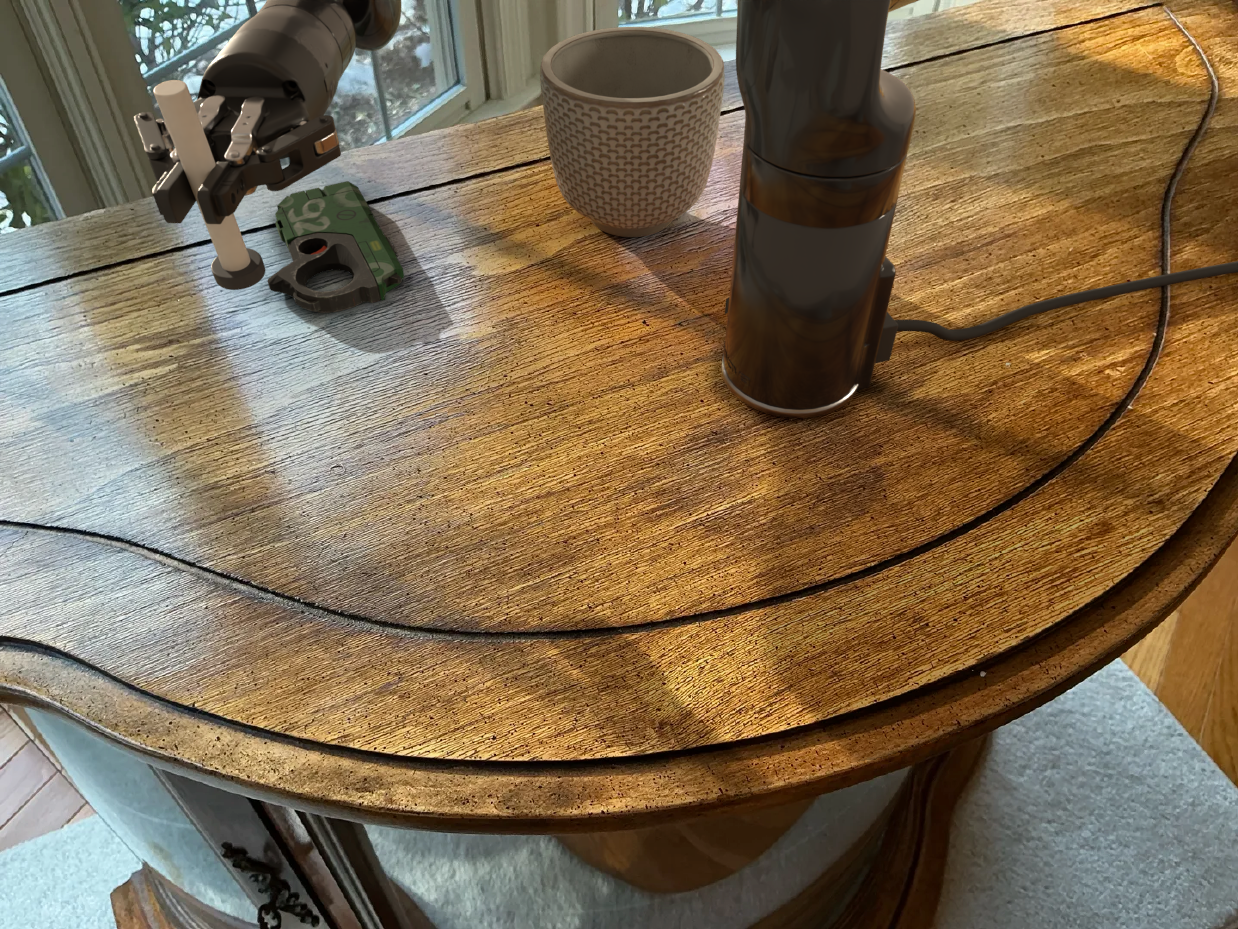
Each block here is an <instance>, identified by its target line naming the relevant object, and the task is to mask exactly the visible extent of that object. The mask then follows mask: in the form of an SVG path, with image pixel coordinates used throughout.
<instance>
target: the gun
mask: <svg viewBox="0 0 1238 929" xmlns="http://www.w3.org/2000/svg"><path fill="white" fill-rule="evenodd" d="M276 207H277V210H276V212H275V214H274V215H275V219H276V220H275V227H276V230H277V233H278V235H279V236H278V237H279V238H280V240H281V241H282V242H283V243H285V245H286V247H287V249H288V251H289V254H290V256H291V259H292V262H290V263H287V265H284V266H283V267H282V268H280V269H279V270H278V271H276V272H275V273H274V274H272V275H271V276H269V278H267V284H268V288H269V291H272V292H273V293H274V292H275V293H280V294H284V295H287V296H289V297H291V298H293V300H294V303H295V304H296V305H297V306H299V307H301V308H302V309H304V310H307V311H310V312H317V313H335V312H341V311H345V310H349V309H352V308H355V307H357V306H358V305H360V304H363V303H365V302H368V303H371V304H373V303H377V302H381V301H385V300H386V295H387V292H390V291H391V290H393V289H394V288H396V287H398V286H400V285H401V283H402V282H403V279H404V277H405V272H404V268H403V266H402V264H401V262H400V260H399V259H398V257H399V255H398V250H397V248H396V247H395V244H394V243H393V241H392V239H391V237H390V236H386V235H385V233H384V232H383V230H382V229H381V227H380V226H379V224H378V222H377V220H376V219H375V216H374V214H373V212H372V209H371V208H370V206H369V205H368V203H367V201H366V199H365V197H364V196H363V193H362V192H361V189H359V187H358V185H355V184H353V183H352V182H350V181H348V180H347V181H341V182H337V183H332V184H329V185H325V186H323V189H322V188H320V187H314V188H311V189H307V190H306V189H305V190H301V191H297V192H293V193H291V194H290V195H286V196H285V197H284V198H283V199H282V200H281V201H280V202H279V203H278V204H277V205H276ZM330 271H342V272H346V273H348V274H350V275H352V276H353V277H352V280H351V281H350V282H349V283H348V284H346V285H344V286H343V287H341V288H337V289H333V290H326V291H318V290H315V289H311V288H310V287H308V286H307V284H308V282H309V281H310V280H311V279H312V278H314V277H315V276H317V275H319V274H322V273H325V272H330Z"/></svg>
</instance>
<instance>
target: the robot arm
mask: <svg viewBox="0 0 1238 929" xmlns="http://www.w3.org/2000/svg"><path fill="white" fill-rule="evenodd" d="M918 1H920V0H737V1H736V2H737V6H736V7H737V8H736V37H735V38H736V39H735V40H736V41H735V72H736V80H737V84H738V85H737V86H738V89H739V93H740V97H741V100H742V104H743V108H744V115H745V116H744V117H745V118H744V129H743V143H742V154H741V165H740V176H739V189H738V197H737V211H736V221H735V231H734V241H733V242H734V243H733V251H732V264H731V273H730V284H729V296H728V297H727V298H726V299H725V305H724V315H727V316H726V317H727V318H726V329H725V339H724V341H723V342H724V343H723V354H722V357H721V368H720V369H721V370H720V371H721V378H722V380H723V382H724V384H725V386H726V387H727V389H728V390H729V392H730V393H731V394H732V395H733V396H734V397H735V398H737V399H738V400H739V401H740V402H742V403H743V404H745V405H746V406H748V407H750V408H752V409H754V410H756V411H758V412H762V413H764V414H767V415H770V416H771V415H772V416H776V417H779V418H780V417H781V418H787V419H788V418H789V419H808V418H815V417H821V416H824V415H828V414H831V413H833V412H835V411H837V410H839V409H841V408H842V407H844V406H846V405H847V404H848V403H849V402H850V401H852V399H853V398H854V396H855V395H856V393H857V392H859V391H861V390H866V389H869V388H870V387H871V383H872V379H873V374H874V370H875V365H876V364H880V363H885V362H889V361H890V360H891V357H892V353H893V349H894V344H895V340H896V337H897V333H899V332H901V333H902V332H917V333H925V334H926V333H927V334H931V335H933V336H935V337H937V338H938V339H941V340H943V341H948V342H959V341H966V340H972V339H976V338H979V337H982V336H984V335H988V334H990V333H993V332H995V331H997V330H1000V329H1003V328H1005V327H1007V326H1009V325H1012V324H1013V323H1016V322H1019V321H1021V320H1023V319H1026V318H1030V317H1031V316H1034V315H1038V314H1042V313H1046V312H1049V311H1054V310H1058V309H1061V308H1064V307H1070V306H1074V305H1078V304H1083V303H1088V302H1093V301H1097V300H1103V299H1107V298H1112V297H1116V296H1121V295H1127V294H1131V293H1135V292H1136V293H1137V292H1140V291H1141V292H1142V291H1146V290H1150V289H1155V288H1161V287H1164V286H1170V285H1171V286H1172V285H1174V284H1175V285H1176V284H1181V283H1185V282H1191V281H1197V280H1202V279H1206V278H1212V277H1218V276H1219V277H1220V276H1224V275H1230V274H1235V273H1238V260H1237V261H1231V262H1226V263H1220V264H1214V265H1209V266H1204V267H1198V268H1193V269H1188V270H1187V269H1186V270H1181V271H1177V272H1172V273H1166V274H1161V275H1156V276H1152V277H1146V278H1141V279H1136V280H1131V281H1126V282H1121V283H1117V284H1112V285H1107V286H1103V287H1098V288H1092V289H1087V290H1083V291H1079V292H1073V293H1069V294H1065V295H1059V296H1057V297H1053V298H1052V297H1051V298H1048V299H1044V300H1040V301H1037V302H1034V303H1030V304H1027V305H1024V306H1021V307H1019V308H1016V309H1014V310H1011V311H1009V312H1006V313H1004V314H1002V315H999V316H997V317H995V318H993V319H989V320H988V321H986V322H982V323H979V324H977V325H974V326H969V327H964V328H956V329H955V328H953V329H949V328H947V327H945V326H943V325H942V324H939V323H937V322H934V321H929V320H922V319H895V318H893V316H891V314H890V313H889V312H888V309H889V305H890V300H891V296H892V291H893V287H894V283H895V280H896V279H895V278H896V274H897V270H896V266H895V265H894V263H893V262H892V261H891V260H890V259H889V257H887V256H886V255H887V250H888V246H889V242H890V237H891V231H892V228H893V223H894V218H895V214H896V209H897V205H898V200H899V195H900V189H901V186H902V181H903V175H904V171H905V168H906V164H907V163H906V162H907V159H908V153H909V149H910V147H911V142H912V136H913V132H914V127H915V123H916V116H917V115H916V113H917V105H916V99H915V96H914V94H913V92H912V91H911V89H910V88H909V86H908V85H907V84H906V83H905V82H904V81H903V80H901V79H900V78H899V77H897V76H895V75H894V74H892V73H890V72H888V71H886V70H884V69H882V62H883V53H884V44H885V37H886V31H887V22H888V16H889V14H890V13H891V12H894V11H896V10H899V9H901V8H903V7H906V6H908V5H912V4H914V3H916V2H918ZM401 18H402V0H266V1H265V2H264V4H263V5H262V7H261V8H260V9H259V11H257V13H256V14H255V15H254V16H252V17H251V18H250V19H248V20H247V21H245V23H243V24H242V25H241V26H240V27H239V28H238V29H237V30H236V32H235V33H234V35H233V36H232V37H231V38H230V39H229V41H228V42H227V43H226V44H225V45H224V47H223V48H222V49H221V50H220V51H219V53H218V54H217V55H216V56H215V57H214V59H213V60H212V61H211V62H210V64H208V66H207V67H206V69H205V71H204V73H203V76H202V78H201V81H200V84H199V89H198V94H197V99H196V100H194V101H193V103H194V106H195V109H196V111H197V114H198V117H199V120H200V122H201V125H202V128H203V131H204V133H205V136H206V139H207V142H208V144H209V147H210V150H211V153H212V155H213V158H214V161H215V164H216V165H215V167H214V168H213V169H212V170H211V172H210V173H209V175H208V176H207V178H206V179H205V181H204V182H203V183H202V185H201V186H200V188H199V189H198V193H197V197H198V202H199V205H200V207H201V210H202V213H203V216H204V219H205V222H206V223H207V224H221V223H222V222H223V220H224V218H225V217H226V216H230V215H231V214H232V213H234V214H235V212H236V211H237V209H238V207H239V206H240V204H241V202H242V201H243V199H244V198H245V197H246V196H250V195H252V194H254V193H255V192H256V190H257V189H258V187H261V186H266V189H267V190H268V191H270V192H279V191H282V190H284V189H286V188H289V187H290V186H291V185H293V184H295V183H296V182H299V181H300V180H302V179H303V178H306V177H307V176H309V175H310V174H312V173H314V172H316V171H317V170H319V169H321V168H322V167H325V166H326V165H327V164H329V163H331V162H333V161H335V160H337V158H340V157H341V156H342V151H341V148H340V141H339V137H338V131H337V128H336V124H335V121H334V120H335V119H334V117H333V116H331V115H329V114H328V115H327V114H326V113H327V111H328V109H329V107H330V105H331V103H332V102H333V100H334V98H335V95H336V93H337V91H338V87H339V84H340V83H339V82H340V80H341V79H342V77H343V75H344V73H345V72H346V70H347V68H348V67H349V65H350V63H351V61H352V60H353V57H354V54H355V50H356V49H358V50H361V51H365V52H377V51H379V50H381V49H383V48H385V47H386V46H387V45H388V44H389V43H391V41H392V40H393V39H394V37H395V35H397V32H398V29H399V26H400V23H401ZM133 120H134V123H135V126H136V129H137V131H138V134H139V138H140V140H141V143H142V145H143V148H144V151H145V154H146V157H147V159H148V162H149V165H150V168H151V170H152V172H153V175H154V178H155V181H156V184H155V185H154V186H153V187H152V189H151V191H152V196H153V199H154V202H155V205H156V206H157V208H158V212H159V214H160V216H162V217H163V218H164V221H165V222H166V223H167V224H182V223H183V221H184V220H185V218H186V217H187V215H188V214H189V213H190V211H191V210H192V208H193V207H194V205H195V204H196V203H197V202H196V199H195V196H194V194H193V191H192V189H191V186H190V184H189V181H188V179H187V176H186V174H185V171H184V169H183V166H182V163H181V161H180V158H179V156H178V153H177V151H176V148H175V146H174V143H173V141H172V138H171V135H170V133H169V130H168V128H167V125H166V123H165V120H164V118H157V119H156V117H155V115H154V113H153V112H151V111H142V112H139V113H136V114H135V115H134V116H133ZM284 159H289V164H288V165H287V166H285V167H282V163H281V160H284ZM204 219H203V220H204ZM205 222H204V223H205Z"/></svg>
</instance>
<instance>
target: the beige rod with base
mask: <svg viewBox="0 0 1238 929" xmlns="http://www.w3.org/2000/svg"><path fill="white" fill-rule="evenodd" d="M153 95H154V98H155V100H156V102H157V105H158V107H159V110H160V112H161V115H162V117H163V118H162V119H163V120H164V121H165V123H166V125H167V128H168V130H169V133H170V135H171V138H172V141H173V143H174V146H175V147H174V149H175V148H176V151H177V153H178V156H179V158H180V161H181V163H182V166H183V169H184V171H185V174H186V176H187V179H188V181H189V184H190V186H191V189H192V191H193V194H194V196H195V199H196V202H195V203H196V204H197V208H198V209H199V213H200V214H201V217H202V219H203V222H204V225H205V227H206V229H207V231H208V235H209V237H210V239H211V243H212V245H213V247H214V250H215V252H216V255H217V256H216V257H215V258H214V259H213V260H212V262H211V265H210V270H211V273H212V275H213V276H212V277H213V278H214V280H215V283H216V284H217V285H218V286H219V287H221V288H222V289H225V290H230V291H236V290H237V291H239V290H245V289H248V288H251V287H253V286H255V285H256V284H258V283H259V282H260V281H261V280H262V279H263V278H264V276H265V274H266V265H265V263H264V261H263V257H262V256H261V253H259V252H258V251H257V250H255V249H253V248H249V247H247V246H246V244H245V243H246V242H245V241H244V238H243V235H242V232H241V230H240V227H239V224H238V221H237V219H236V216H235V212H234V213H232V214H231V215H230V216H226V217H225V218H224V220H223V222H222V223H221V224H207V223H206V222H205V219H204V216H203V213H202V210H201V207H200V205H199V202H198V197H197V193H198V189H199V188H200V186H201V185H202V183H203V182H204V181H205V179H206V178H207V176H208V175H209V173H210V172H211V170H212V169H213V168H214V167H215V165H216V164H215V161H214V158H213V155H212V153H211V150H210V147H209V144H208V142H207V139H206V136H205V133H204V131H203V128H202V125H201V122H200V120H199V117H198V114H197V111H196V109H195V106H194V103H193V102H194V100H193V98H192V95H191V92H190V90H189V87H188V84H187V83H186V82H185V81H183V80H178V79H170V80H165V81H163V82H160V83H159V84H156V86H154V88H153Z"/></svg>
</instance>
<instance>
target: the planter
mask: <svg viewBox="0 0 1238 929" xmlns="http://www.w3.org/2000/svg"><path fill="white" fill-rule="evenodd" d="M539 68H540V70H539V82H540V84H539V85H540V93H541V101H542V109H543V116H544V124H545V133H546V139H547V144H548V151H549V157H550V163H551V168H552V172H553V176H554V179H555V180H554V181H555V183H556V186H557V188H558V190H559V192H560V194H561V196H562V197H563V199H564V200H565V202H566V203H567V204H568V205H569V206H570V207H571V208H572V209H573V210H574V211H575V212H576V213H578V214H580V215H581V216H582V217H584V218H586V219H588V220H589V221H590V222H591V223H592V224H593V226H595V227H596V228H597V229H599V230H600V231H602V232H604V233H606V234H609V235H612V236H616V237H620V238H642V237H647V236H651V235H654V234H657V233H659V232H662V231H664V230H665V229H666V228H667V227H668V226H670V224H671V223H672V222H673V221H674V220H676V219H677V218H680V217H681V216H682V215H684V214H685V213H686V212H688V211H689V210H690V209H692V208H693V206H695V204H696V203H697V202H698V201H699V200H700V198H701V196H702V195H703V193H704V191H705V189H706V187H707V184H708V181H709V177H710V174H711V171H712V167H713V162H714V156H715V151H716V146H717V139H718V135H719V128H720V119H721V112H722V104H723V98H724V90H725V81H726V78H725V76H726V75H725V61H724V59H723V57H722V55H721V54H720V53H719V51H718V50H717V49H716V48H714V47H713V46H712V45H711V44H709V43H708V42H705V41H704V40H703V39H700V38H698V37H695V36H693V35H691V34H688V33H683V32H680V31H677V30H671V29H667V28H658V27H651V26H650V27H649V26H648V27H647V26H616V27H615V26H614V27H607V28H606V27H605V28H599V29H593V30H589V31H584V32H581V33H578V34H574V35H572V36H569V37H567V38H564V39H563V40H560V41H559V42H557V43H556V44H555V45H553V46H551V48H549V50H547V51H546V52H545V54H544V55H543V57H542V59H541V62H540V67H539Z"/></svg>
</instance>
